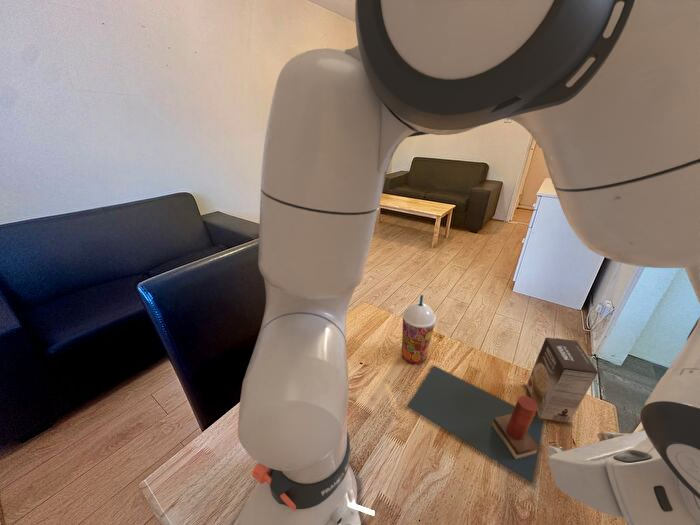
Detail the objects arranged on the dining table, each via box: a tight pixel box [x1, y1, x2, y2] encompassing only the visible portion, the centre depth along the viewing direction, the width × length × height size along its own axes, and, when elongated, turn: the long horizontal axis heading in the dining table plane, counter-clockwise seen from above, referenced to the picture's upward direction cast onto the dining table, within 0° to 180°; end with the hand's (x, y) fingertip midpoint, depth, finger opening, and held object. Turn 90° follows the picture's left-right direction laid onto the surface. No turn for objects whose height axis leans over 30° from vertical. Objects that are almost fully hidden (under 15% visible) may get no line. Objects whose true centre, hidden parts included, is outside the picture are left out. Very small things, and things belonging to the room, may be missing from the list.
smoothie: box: [401, 294, 437, 364], centre depth 74 cm, size 8×8×20 cm
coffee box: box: [525, 337, 599, 424], centre depth 62 cm, size 9×6×16 cm
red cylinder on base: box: [492, 395, 540, 459], centre depth 55 cm, size 7×4×11 cm, turn 12°
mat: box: [407, 365, 544, 484], centre depth 63 cm, size 15×25×1 cm, turn 52°
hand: (577, 444), depth 44 cm, fingers open, 8 cm apart
